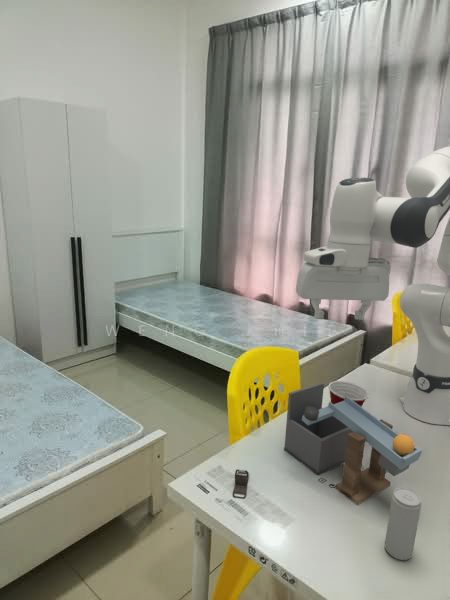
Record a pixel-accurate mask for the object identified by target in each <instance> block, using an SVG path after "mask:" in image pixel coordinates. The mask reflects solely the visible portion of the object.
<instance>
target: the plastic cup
mask: <svg viewBox="0 0 450 600" xmlns="http://www.w3.org/2000/svg"><path fill="white" fill-rule="evenodd" d="M328 390H329V398H330V402H331V403H332V404H336V403H339V402H342V401H344V399H345V396H347V397H348V398H350V399H351V400H353V401H354V402H355V403H357V404H358V405H359V406H361V407H362V408H363V405H364V403H366V402H365V401H366V400H367V399H369V395H370V394H369V392H368V390H367V389H365V388H364V387H363V386H361V385H359V384H356V383H353V382H351V381H347V380H346V381H344V380H334V381H331V382H329V384H328Z"/></svg>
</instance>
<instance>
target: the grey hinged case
mask: <svg viewBox="0 0 450 600" xmlns="http://www.w3.org/2000/svg"><path fill="white" fill-rule="evenodd" d="M249 480H250V472H249V471H248V470H246V469H235V473H234V487H233V491H232V497H233V498H234V499H241V500H245V499H246V498H247V495H248V494H247V492H248V483H249ZM237 495H242V496H237Z"/></svg>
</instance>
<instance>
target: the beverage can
mask: <svg viewBox="0 0 450 600" xmlns="http://www.w3.org/2000/svg"><path fill="white" fill-rule="evenodd" d="M421 509H422V497H421V496H420V495H419V494H418V493H417V492H416V491H414V490H413V489H410V488H408V487H398V488H395V490H394V491H393V493H392V497H391V501H390V507H389V513H388V514H389V515H388V520H387V527H386V533H385V539H384V540H385V541H384V547H385V550H386V551H387V553H388V554H389V555H390V556H391V557H393V558H394V559H396V560H399V561H406V560H409V559H411V558H412V556H413V553H414V552H413V551H414V547H415V542H416V536H417V530H418V526H419V519H420V514H421Z"/></svg>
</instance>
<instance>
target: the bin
mask: <svg viewBox="0 0 450 600" xmlns="http://www.w3.org/2000/svg"><path fill="white" fill-rule="evenodd" d="M324 389H325V383H324V382H319V383H315V384H312V385H309V386H306V387H303V388H299V389H297V390H292V391H291V392H288V399H287V400H288V401H287V412H286V424H285V425H286V426H285V436H284V437H285V438H284V451H285V452H286V453H288V454H289V455H290V456H292V457H293V458H294V459H296V461H298V462H299V463H300V464H303V466H305V467H306V468H308V470H310V471H311V472H313V473H314V474H315V475H316V476H320V475H321V474H323V473H326V472H328V471H331V469H334V468H337V467H338V466H340V465H342V464H344V460H345V452H346V444H347V436H348V434H349V433H351V432H353V431H352V430H351V429H350V428H348V427H347V426H346V425H345V424H343V423H342V422H341V421H340V420H338V419H337V418H336V417H335V416H331V417H328V418H326V419H323V420H321V421H318V422H316V423H313V424H311V425H307V424H306V423H305V422H303V421H302V417H303V415H304V413H305V409H306V407H308V406H312V407H315V408H317V409H318V410H319V409H322V408H323V407H322V406H323V399H324V398H323V397H324V391H325V390H324Z"/></svg>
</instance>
